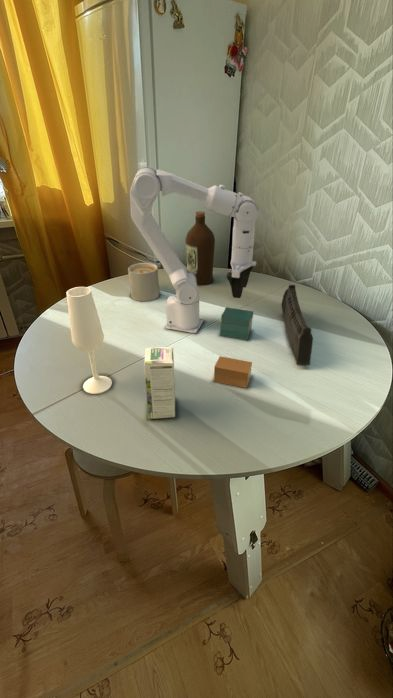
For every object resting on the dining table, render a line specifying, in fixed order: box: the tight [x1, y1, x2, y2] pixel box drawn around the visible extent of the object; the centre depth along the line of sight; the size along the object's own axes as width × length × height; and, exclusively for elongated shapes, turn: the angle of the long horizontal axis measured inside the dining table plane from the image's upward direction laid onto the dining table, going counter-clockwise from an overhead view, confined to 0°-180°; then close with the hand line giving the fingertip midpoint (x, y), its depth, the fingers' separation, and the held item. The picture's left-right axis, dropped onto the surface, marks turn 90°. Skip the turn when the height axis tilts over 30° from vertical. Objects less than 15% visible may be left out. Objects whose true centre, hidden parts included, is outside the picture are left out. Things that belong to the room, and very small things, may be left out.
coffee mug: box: [127, 262, 160, 302], centre depth 123 cm, size 13×10×10 cm
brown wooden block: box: [213, 371, 252, 389], centre depth 85 cm, size 8×5×2 cm, turn 72°
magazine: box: [281, 284, 314, 367], centre depth 98 cm, size 17×3×30 cm
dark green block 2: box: [219, 324, 253, 341], centre depth 102 cm, size 8×5×2 cm
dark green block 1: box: [220, 320, 253, 334], centre depth 101 cm, size 8×5×2 cm
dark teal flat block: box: [220, 307, 254, 327], centre depth 100 cm, size 8×5×2 cm
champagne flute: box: [65, 286, 113, 395], centre depth 77 cm, size 7×7×24 cm
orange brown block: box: [213, 355, 253, 381], centre depth 84 cm, size 8×5×2 cm, turn 72°
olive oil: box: [184, 210, 216, 286], centre depth 128 cm, size 11×11×25 cm
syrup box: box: [143, 346, 176, 420], centre depth 73 cm, size 6×6×14 cm
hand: (239, 291), depth 102 cm, fingers open, 7 cm apart
